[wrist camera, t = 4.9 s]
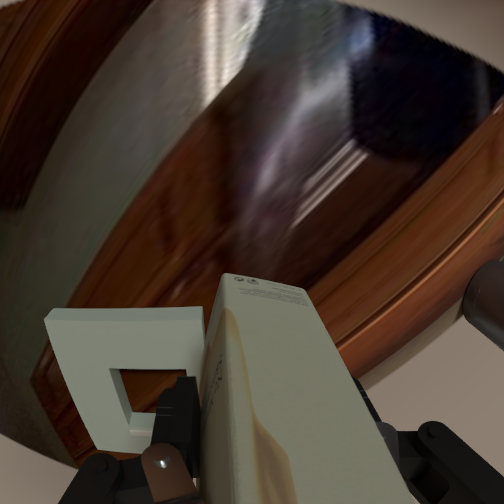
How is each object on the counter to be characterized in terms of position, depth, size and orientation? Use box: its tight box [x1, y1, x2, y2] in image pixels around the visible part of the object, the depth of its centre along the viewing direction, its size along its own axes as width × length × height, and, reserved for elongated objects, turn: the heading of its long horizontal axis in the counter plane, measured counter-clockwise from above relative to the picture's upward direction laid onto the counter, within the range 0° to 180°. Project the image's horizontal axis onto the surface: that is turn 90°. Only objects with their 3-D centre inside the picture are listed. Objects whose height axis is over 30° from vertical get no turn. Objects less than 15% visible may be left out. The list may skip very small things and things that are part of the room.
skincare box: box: [196, 273, 415, 504], centre depth 11 cm, size 6×4×12 cm
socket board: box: [44, 306, 206, 454], centre depth 31 cm, size 16×20×3 cm
